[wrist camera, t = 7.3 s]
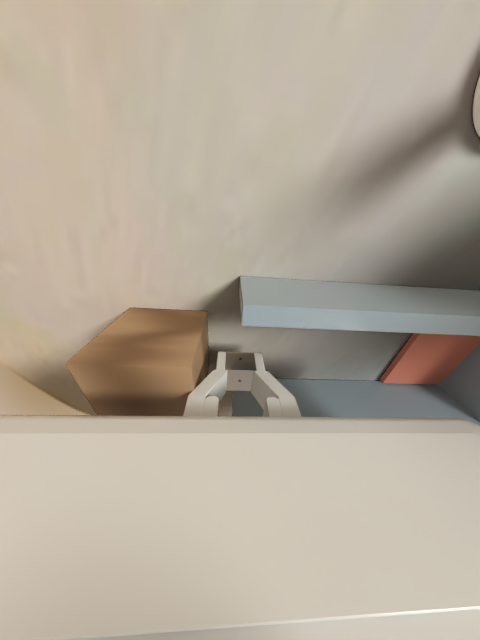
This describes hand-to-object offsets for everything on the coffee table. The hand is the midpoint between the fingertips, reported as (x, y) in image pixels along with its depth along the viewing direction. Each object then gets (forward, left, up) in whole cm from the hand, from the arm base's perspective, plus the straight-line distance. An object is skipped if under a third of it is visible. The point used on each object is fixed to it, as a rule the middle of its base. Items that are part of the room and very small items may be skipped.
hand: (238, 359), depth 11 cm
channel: (-10, 0, -2) cm, 10 cm away
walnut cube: (+5, 0, -2) cm, 5 cm away
